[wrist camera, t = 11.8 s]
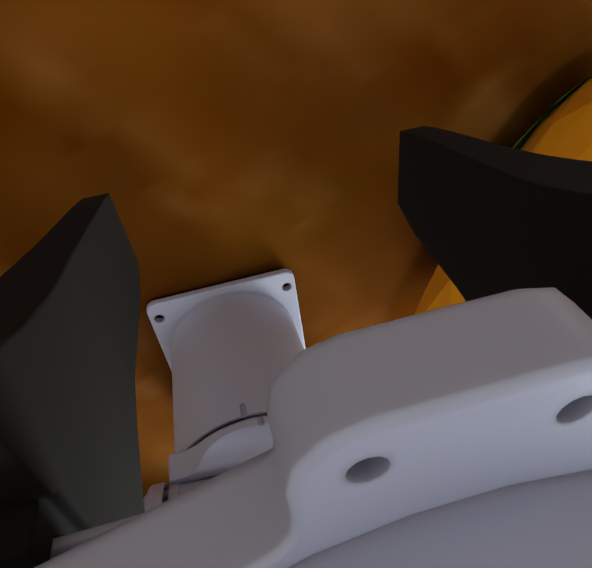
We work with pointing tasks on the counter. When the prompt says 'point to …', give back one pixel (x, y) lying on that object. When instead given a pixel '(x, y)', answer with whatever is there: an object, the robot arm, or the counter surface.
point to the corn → (543, 140)
